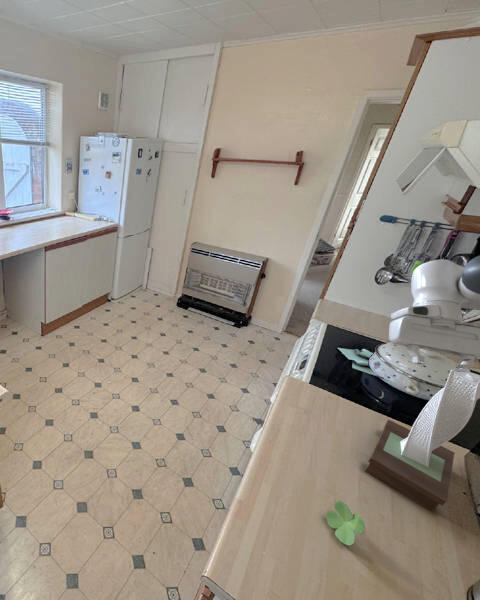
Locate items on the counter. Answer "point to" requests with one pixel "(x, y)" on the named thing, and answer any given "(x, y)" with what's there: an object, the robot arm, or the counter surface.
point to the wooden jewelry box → (411, 468)
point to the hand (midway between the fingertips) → (440, 367)
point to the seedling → (345, 523)
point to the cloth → (359, 359)
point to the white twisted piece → (443, 416)
